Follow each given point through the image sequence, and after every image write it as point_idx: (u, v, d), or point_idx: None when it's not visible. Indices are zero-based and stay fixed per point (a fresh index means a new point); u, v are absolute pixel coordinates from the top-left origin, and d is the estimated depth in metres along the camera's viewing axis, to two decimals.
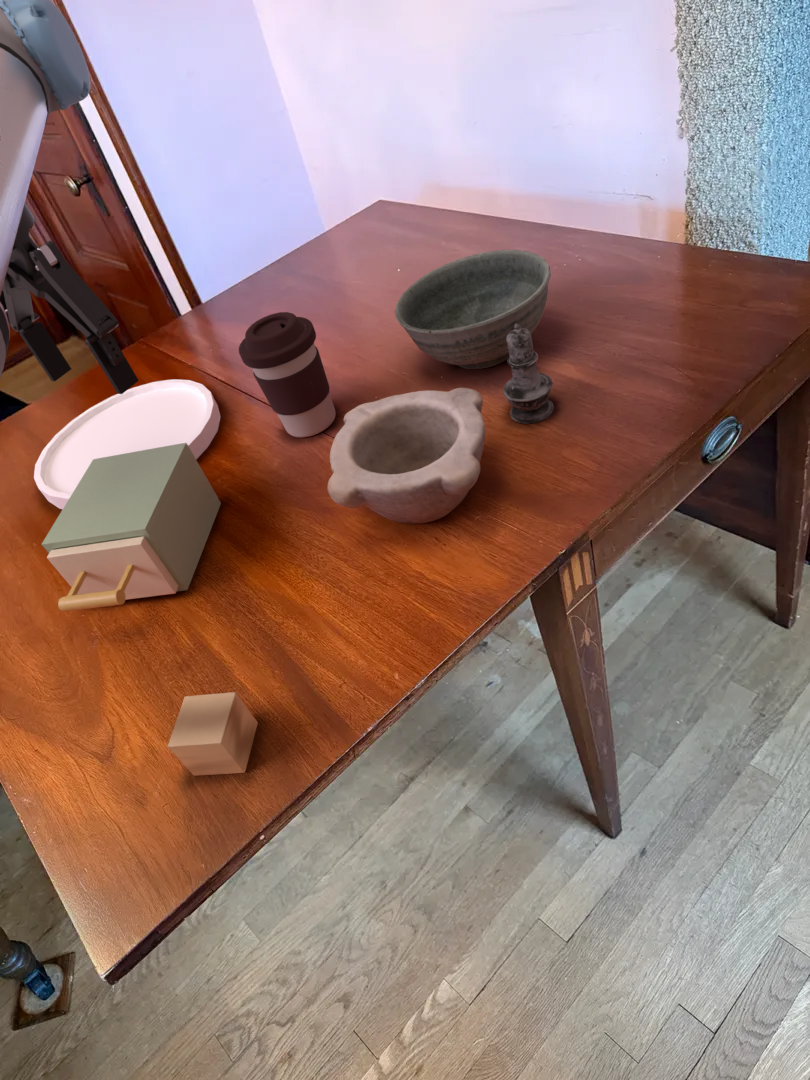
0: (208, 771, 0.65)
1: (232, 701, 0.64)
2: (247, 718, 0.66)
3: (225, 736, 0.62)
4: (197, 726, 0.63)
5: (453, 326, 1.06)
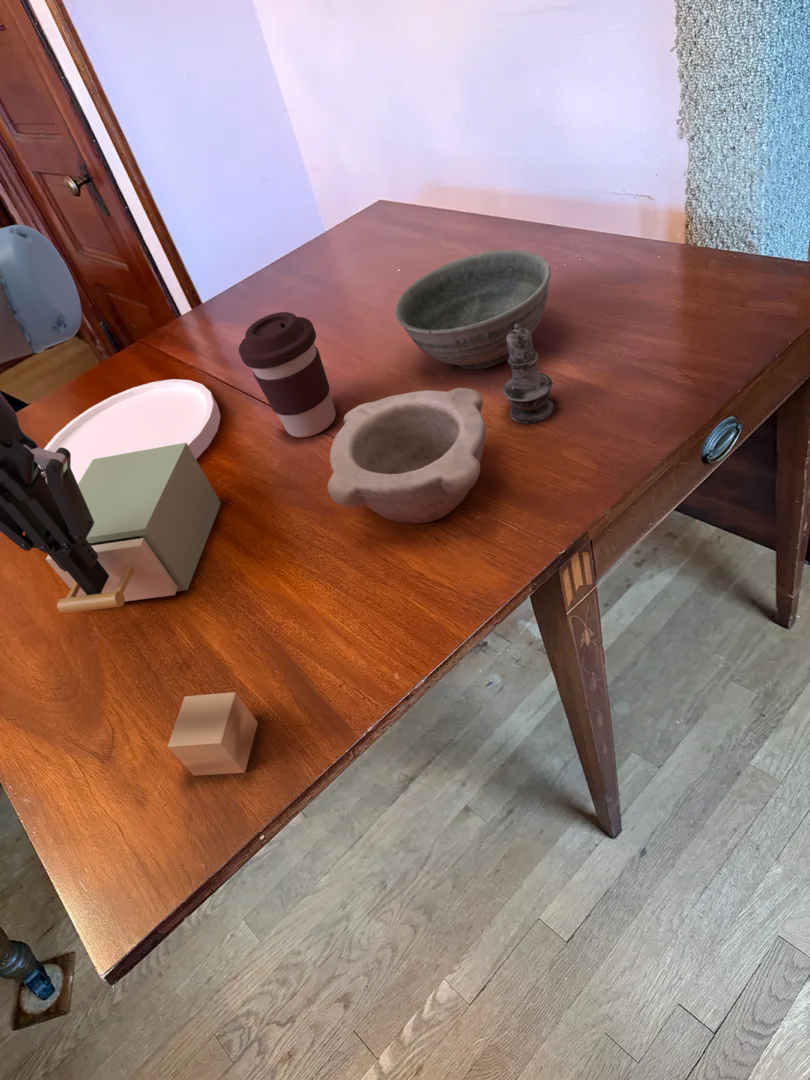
0: (208, 771, 0.65)
1: (232, 701, 0.64)
2: (247, 718, 0.66)
3: (225, 736, 0.62)
4: (197, 726, 0.63)
5: (453, 326, 1.06)
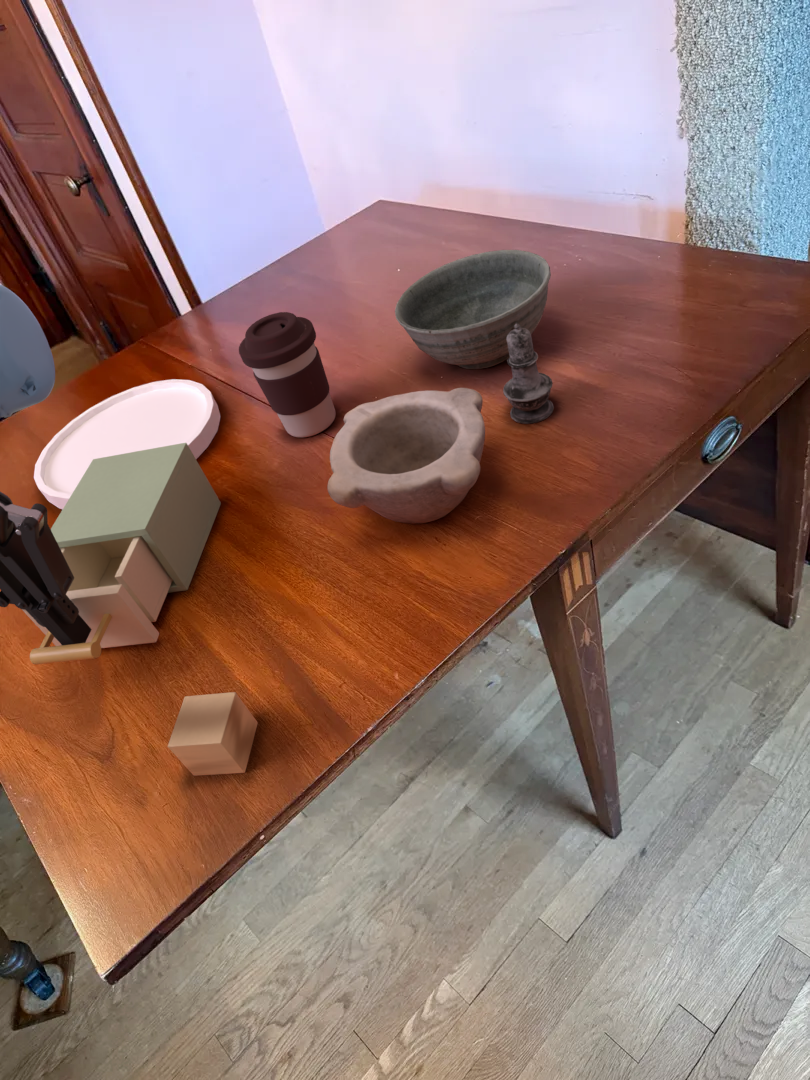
0: (208, 771, 0.65)
1: (232, 701, 0.64)
2: (247, 718, 0.66)
3: (225, 736, 0.62)
4: (197, 726, 0.63)
5: (453, 326, 1.06)
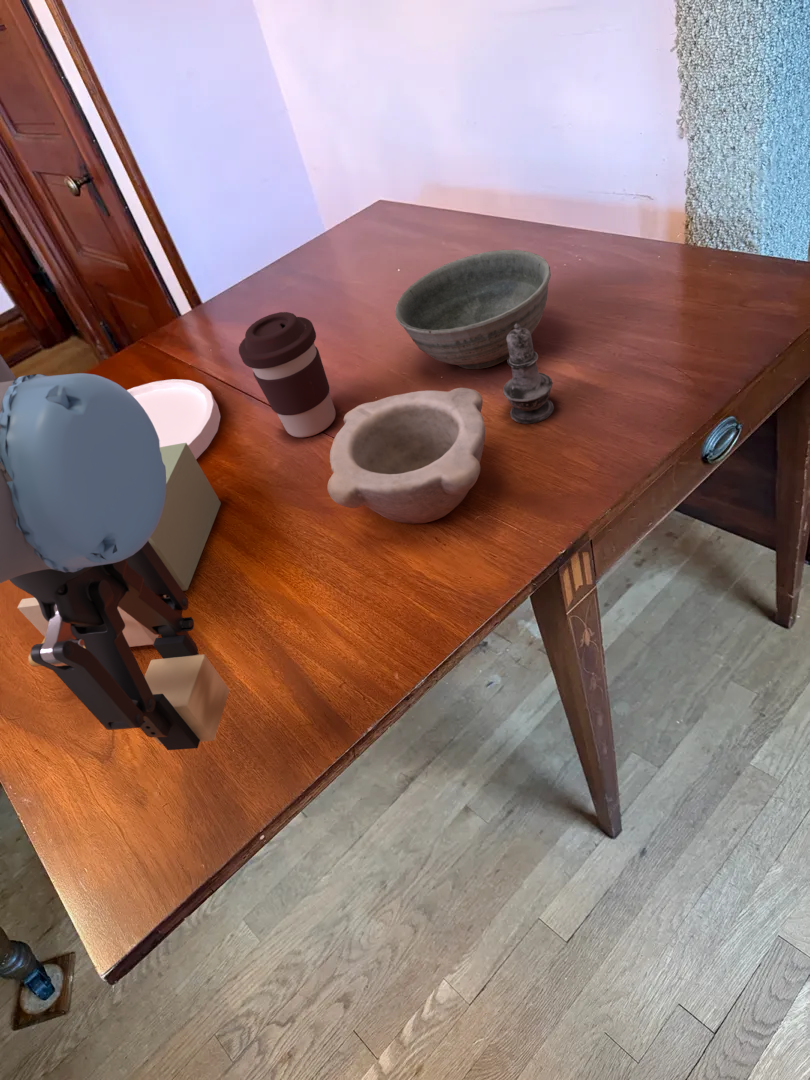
0: None
1: (201, 664, 0.60)
2: (217, 684, 0.62)
3: (192, 699, 0.58)
4: (163, 690, 0.59)
5: (453, 326, 1.06)
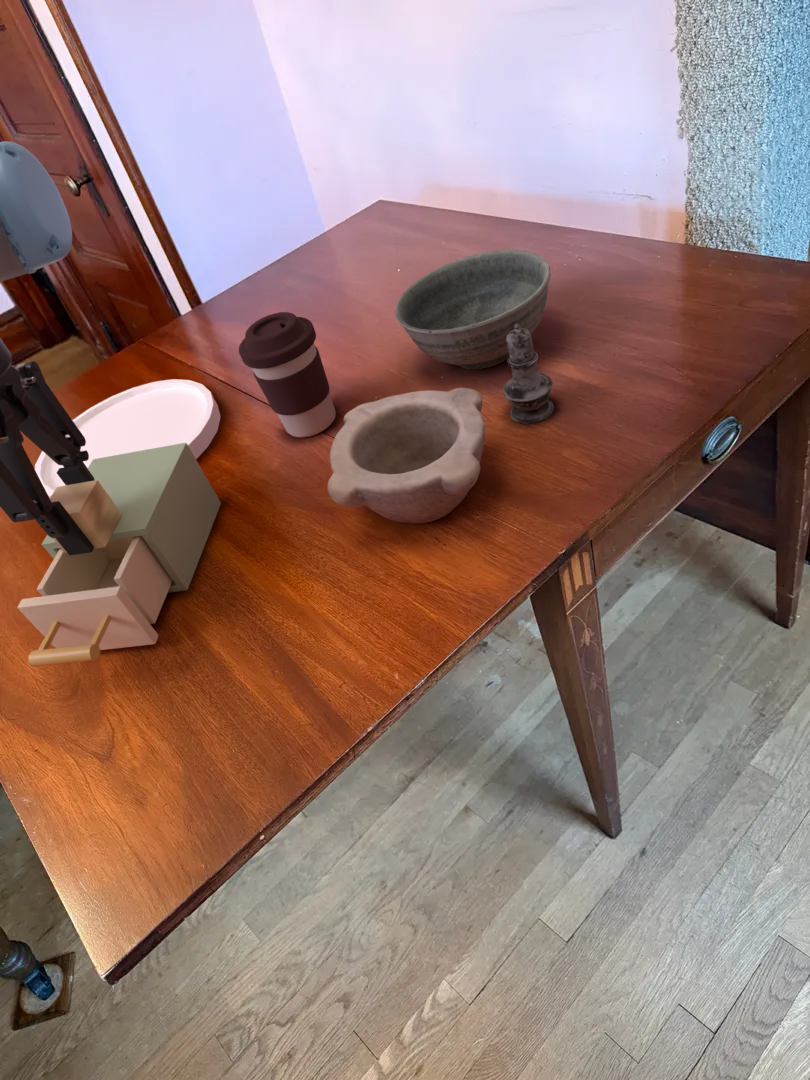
0: None
1: (93, 486, 0.77)
2: (110, 506, 0.79)
3: (84, 509, 0.75)
4: (63, 504, 0.76)
5: (453, 326, 1.06)
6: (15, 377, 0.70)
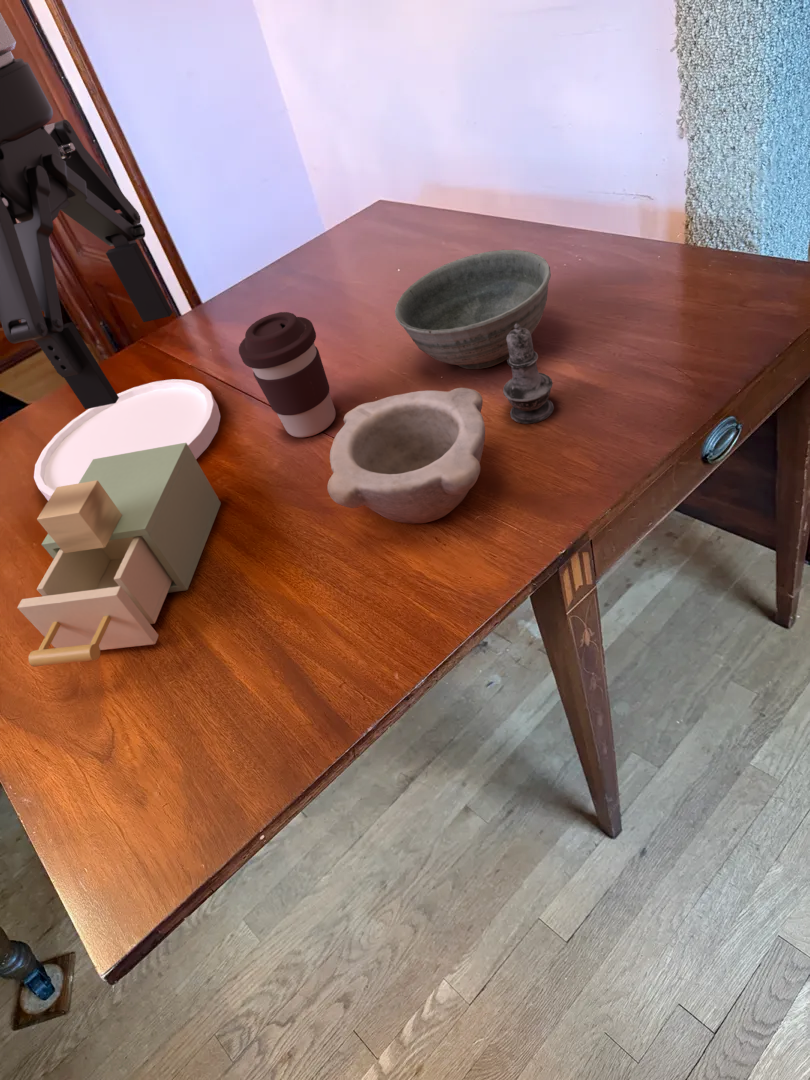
0: (75, 547, 0.78)
1: (93, 486, 0.77)
2: (110, 506, 0.79)
3: (84, 509, 0.75)
4: (63, 504, 0.76)
5: (453, 326, 1.06)
6: (54, 150, 0.54)
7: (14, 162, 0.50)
